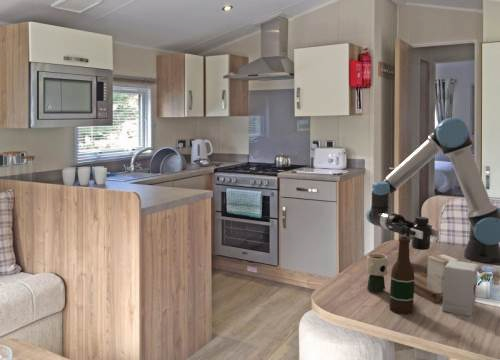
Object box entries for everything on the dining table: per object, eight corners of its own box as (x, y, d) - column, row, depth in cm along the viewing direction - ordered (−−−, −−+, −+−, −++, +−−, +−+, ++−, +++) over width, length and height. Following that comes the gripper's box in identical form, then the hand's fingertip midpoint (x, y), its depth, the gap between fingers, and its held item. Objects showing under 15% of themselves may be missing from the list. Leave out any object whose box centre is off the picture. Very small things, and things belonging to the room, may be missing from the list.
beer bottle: (385, 305, 163) (388, 235, 160) (407, 304, 164) (411, 234, 161) (393, 314, 155) (397, 241, 152) (417, 314, 156) (421, 240, 153)
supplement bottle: (431, 250, 188) (432, 220, 186) (412, 249, 189) (413, 219, 187) (428, 246, 194) (429, 216, 193) (410, 245, 196) (411, 215, 194)
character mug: (379, 297, 170) (380, 261, 168) (360, 293, 174) (361, 257, 172) (391, 289, 178) (393, 254, 176) (372, 284, 183) (374, 250, 181)
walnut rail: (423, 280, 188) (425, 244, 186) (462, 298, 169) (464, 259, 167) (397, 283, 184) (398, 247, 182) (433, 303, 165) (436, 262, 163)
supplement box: (471, 317, 154) (474, 271, 152) (441, 311, 159) (444, 266, 157) (475, 307, 162) (478, 263, 160) (446, 302, 166) (449, 259, 164)
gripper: (412, 228, 211) (450, 241, 190) (372, 232, 205) (408, 246, 183) (412, 211, 210) (451, 222, 189) (373, 215, 204) (409, 226, 182)
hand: (430, 234), depth 186 cm, fingers closed on supplement bottle, 7 cm apart
